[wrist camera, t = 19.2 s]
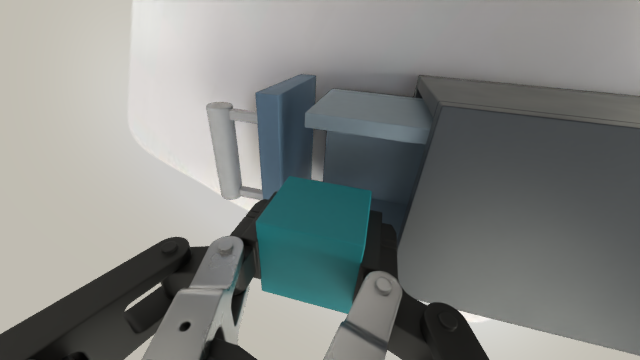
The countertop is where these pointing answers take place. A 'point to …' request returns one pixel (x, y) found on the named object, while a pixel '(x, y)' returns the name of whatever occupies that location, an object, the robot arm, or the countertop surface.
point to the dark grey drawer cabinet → (528, 209)
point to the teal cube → (313, 242)
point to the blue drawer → (327, 142)
